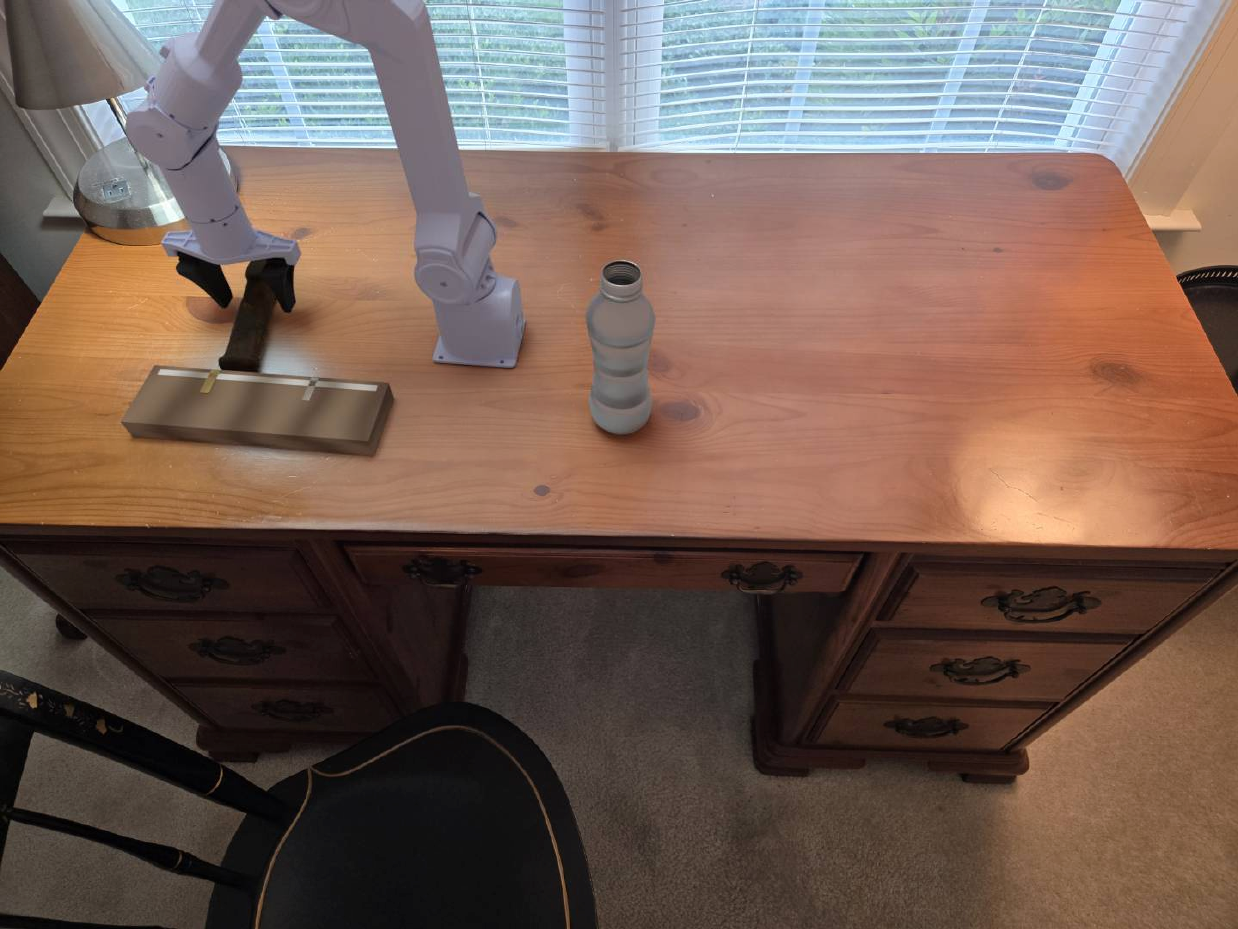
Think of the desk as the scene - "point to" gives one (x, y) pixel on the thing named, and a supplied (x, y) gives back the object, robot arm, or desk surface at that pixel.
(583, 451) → the desk surface
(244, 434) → the grey brown flat box
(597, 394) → the plastic bottle
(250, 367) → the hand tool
